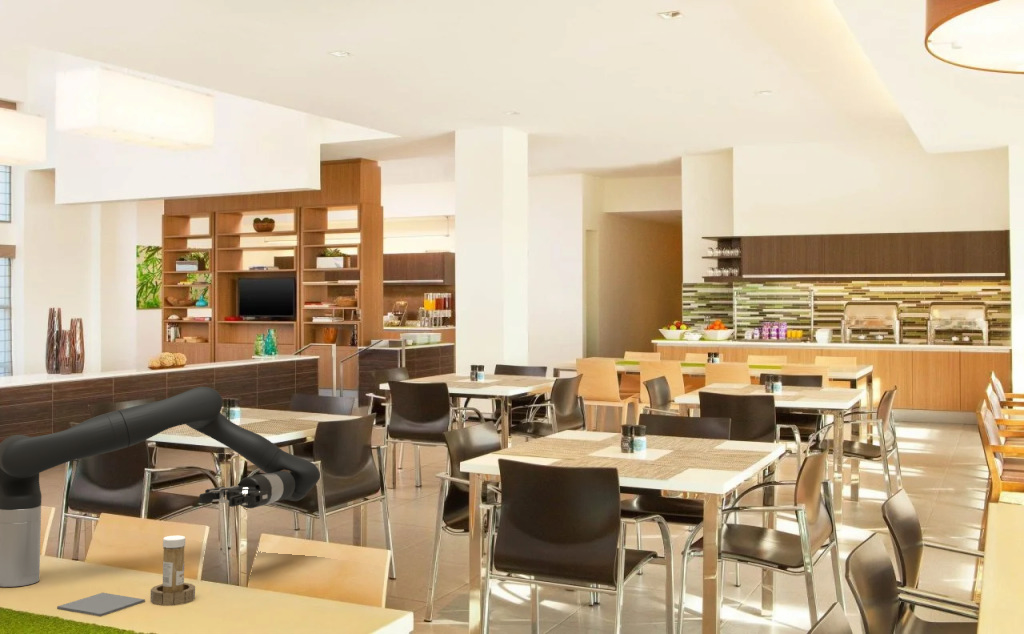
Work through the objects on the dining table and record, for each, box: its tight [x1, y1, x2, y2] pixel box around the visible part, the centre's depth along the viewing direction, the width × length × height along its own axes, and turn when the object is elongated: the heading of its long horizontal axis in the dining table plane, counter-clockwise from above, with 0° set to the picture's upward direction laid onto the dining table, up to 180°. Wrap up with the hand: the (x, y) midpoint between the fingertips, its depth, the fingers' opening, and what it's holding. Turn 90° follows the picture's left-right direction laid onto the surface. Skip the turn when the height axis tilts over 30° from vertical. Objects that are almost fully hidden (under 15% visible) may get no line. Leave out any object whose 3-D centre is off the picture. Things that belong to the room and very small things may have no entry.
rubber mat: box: [56, 592, 146, 617], centre depth 203 cm, size 12×12×1 cm
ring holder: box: [149, 582, 196, 606], centre depth 209 cm, size 9×9×2 cm
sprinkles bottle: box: [162, 535, 186, 592], centre depth 209 cm, size 5×5×13 cm
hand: (215, 500), depth 221 cm, fingers open, 8 cm apart
